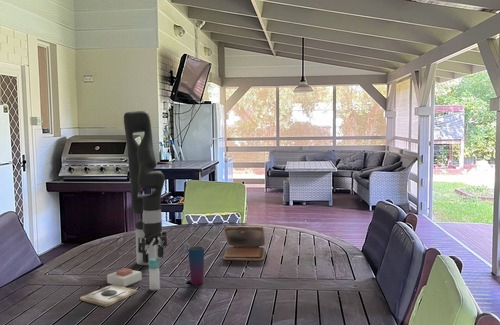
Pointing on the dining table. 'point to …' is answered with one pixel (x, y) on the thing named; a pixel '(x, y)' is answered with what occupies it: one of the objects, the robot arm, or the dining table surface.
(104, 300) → the paper board
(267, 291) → the dining table surface
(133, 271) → the button housing
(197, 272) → the cup
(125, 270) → the button
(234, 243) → the case
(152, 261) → the marker
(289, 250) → the dining table surface
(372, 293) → the dining table surface
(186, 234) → the dining table surface
